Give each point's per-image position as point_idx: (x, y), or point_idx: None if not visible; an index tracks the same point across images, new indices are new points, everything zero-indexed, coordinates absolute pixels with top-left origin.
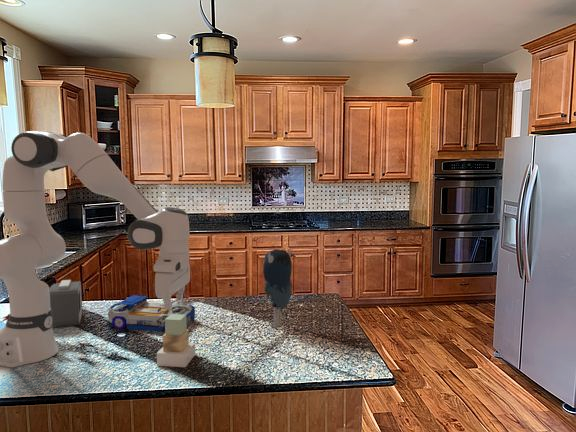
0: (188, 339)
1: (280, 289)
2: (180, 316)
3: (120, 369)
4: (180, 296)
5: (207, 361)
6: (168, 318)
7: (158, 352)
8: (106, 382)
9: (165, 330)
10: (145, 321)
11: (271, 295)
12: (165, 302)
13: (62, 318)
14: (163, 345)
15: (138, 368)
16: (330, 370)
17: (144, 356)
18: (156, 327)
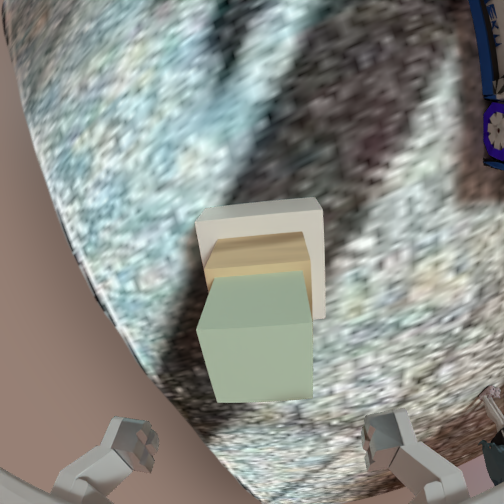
0: None
1: (496, 484)
2: (273, 386)
3: (146, 101)
4: (366, 458)
5: None
6: (217, 343)
7: (202, 226)
8: (71, 125)
9: (209, 292)
10: (499, 25)
11: (501, 460)
12: (90, 460)
13: None
14: (214, 250)
15: (168, 156)
16: (282, 488)
17: (266, 118)
18: (490, 71)
